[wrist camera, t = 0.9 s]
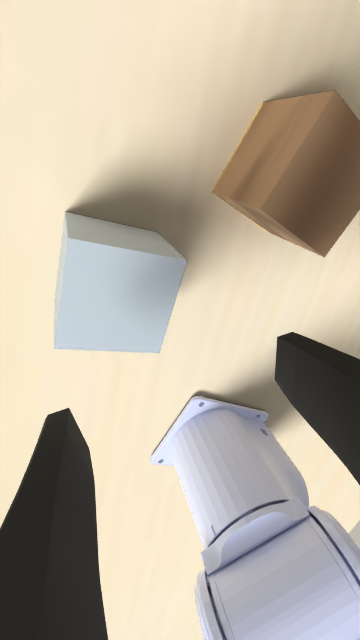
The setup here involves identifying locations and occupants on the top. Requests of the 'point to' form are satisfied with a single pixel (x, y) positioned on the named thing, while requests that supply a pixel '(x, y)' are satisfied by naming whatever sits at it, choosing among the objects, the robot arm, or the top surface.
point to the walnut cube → (298, 170)
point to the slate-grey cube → (114, 286)
